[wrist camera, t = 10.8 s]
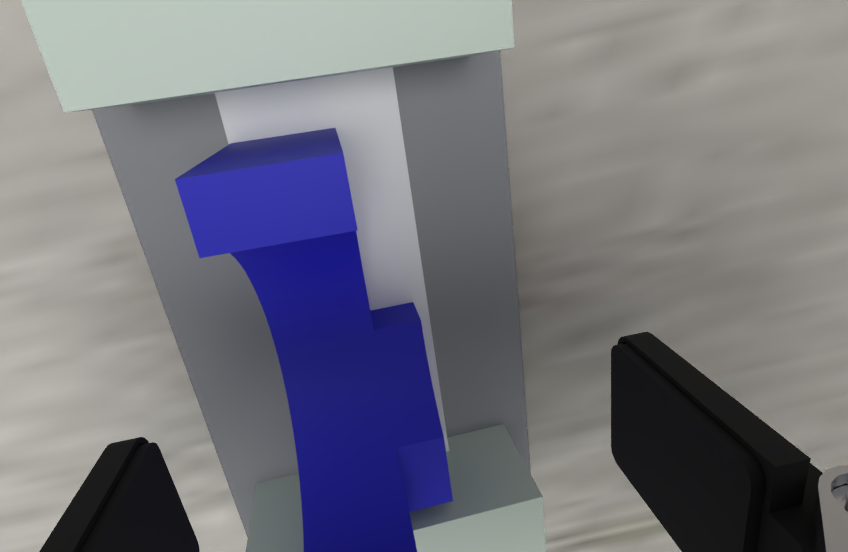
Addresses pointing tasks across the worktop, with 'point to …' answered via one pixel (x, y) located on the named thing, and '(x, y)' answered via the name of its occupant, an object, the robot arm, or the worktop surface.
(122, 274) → the worktop surface
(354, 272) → the cable clip
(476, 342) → the board
